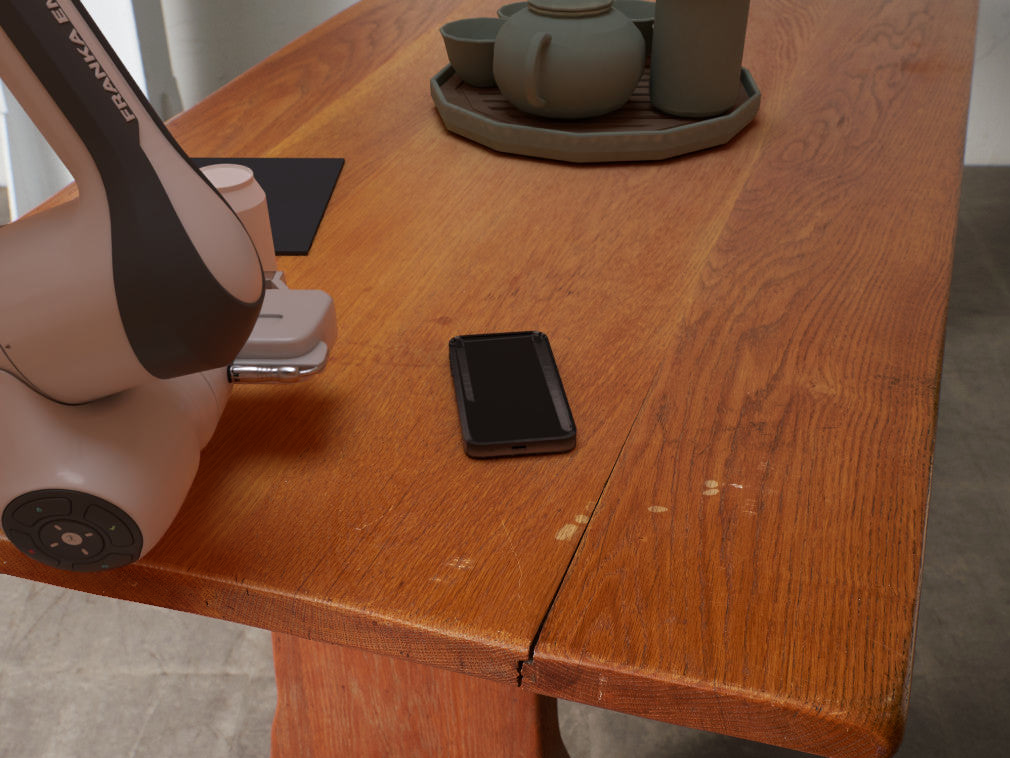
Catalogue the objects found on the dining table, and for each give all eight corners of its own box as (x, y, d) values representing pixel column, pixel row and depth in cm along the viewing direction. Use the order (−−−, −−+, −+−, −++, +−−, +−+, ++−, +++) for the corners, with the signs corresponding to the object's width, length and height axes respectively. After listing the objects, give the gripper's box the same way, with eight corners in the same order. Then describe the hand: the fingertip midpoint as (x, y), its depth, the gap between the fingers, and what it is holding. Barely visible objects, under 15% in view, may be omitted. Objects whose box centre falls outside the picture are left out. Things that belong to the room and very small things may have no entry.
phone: (545, 329, 80) (579, 437, 68) (545, 342, 80) (579, 450, 69) (445, 336, 79) (463, 445, 67) (446, 348, 80) (464, 459, 68)
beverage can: (272, 337, 81) (247, 192, 74) (197, 333, 82) (165, 189, 74) (292, 301, 86) (271, 161, 78) (222, 298, 86) (194, 159, 79)
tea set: (728, 64, 140) (746, -71, 130) (779, 170, 109) (806, 3, 99) (444, 63, 141) (438, -71, 131) (414, 167, 110) (403, 2, 100)
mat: (114, 254, 93) (112, 250, 93) (183, 160, 112) (182, 157, 112) (307, 255, 93) (307, 251, 93) (345, 161, 112) (344, 157, 111)
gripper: (315, 335, 62) (347, 240, 73) (-13, 332, 63) (67, 238, 73) (327, 420, 66) (356, 318, 77) (18, 416, 67) (90, 316, 77)
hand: (213, 279), depth 75 cm, fingers open, 8 cm apart
